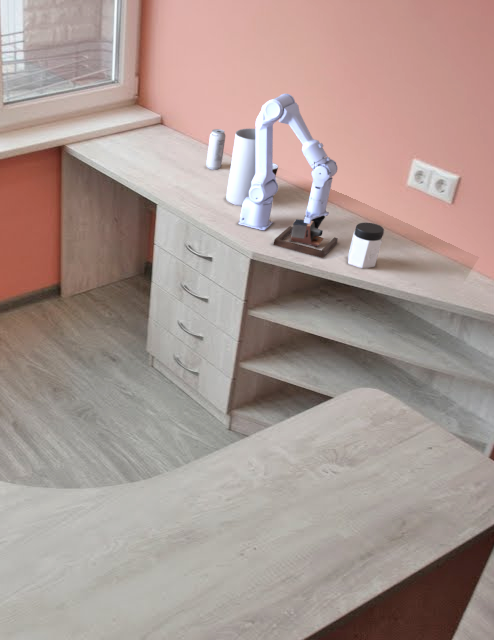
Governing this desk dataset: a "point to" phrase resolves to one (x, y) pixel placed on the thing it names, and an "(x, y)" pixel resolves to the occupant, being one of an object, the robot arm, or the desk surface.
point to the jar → (365, 245)
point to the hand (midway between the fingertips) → (310, 236)
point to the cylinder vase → (242, 166)
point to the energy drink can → (215, 149)
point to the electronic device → (306, 233)
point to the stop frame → (300, 248)
